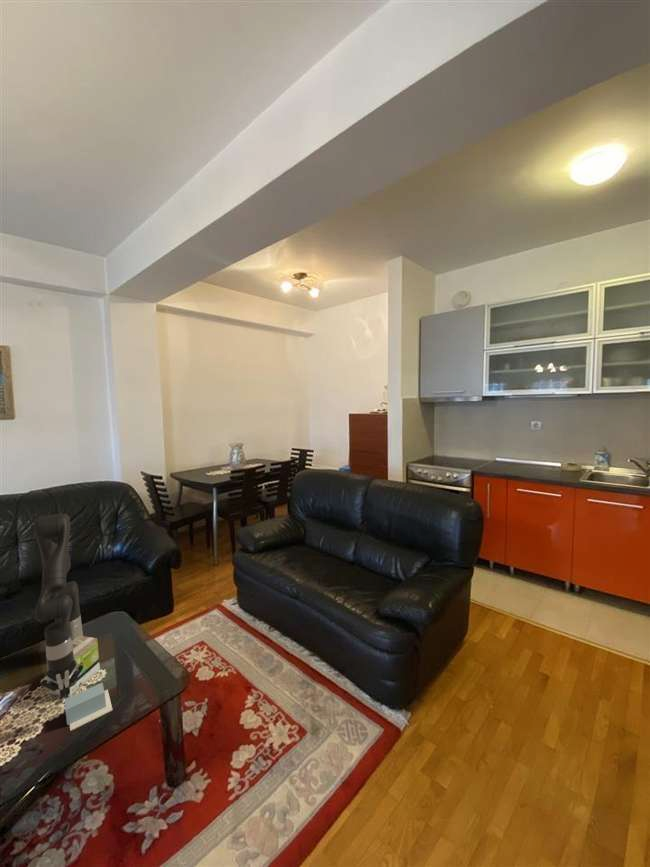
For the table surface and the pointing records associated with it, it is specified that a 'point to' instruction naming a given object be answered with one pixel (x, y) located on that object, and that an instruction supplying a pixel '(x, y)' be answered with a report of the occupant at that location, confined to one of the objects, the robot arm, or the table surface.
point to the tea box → (86, 654)
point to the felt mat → (93, 714)
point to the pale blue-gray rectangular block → (85, 703)
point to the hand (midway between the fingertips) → (65, 695)
